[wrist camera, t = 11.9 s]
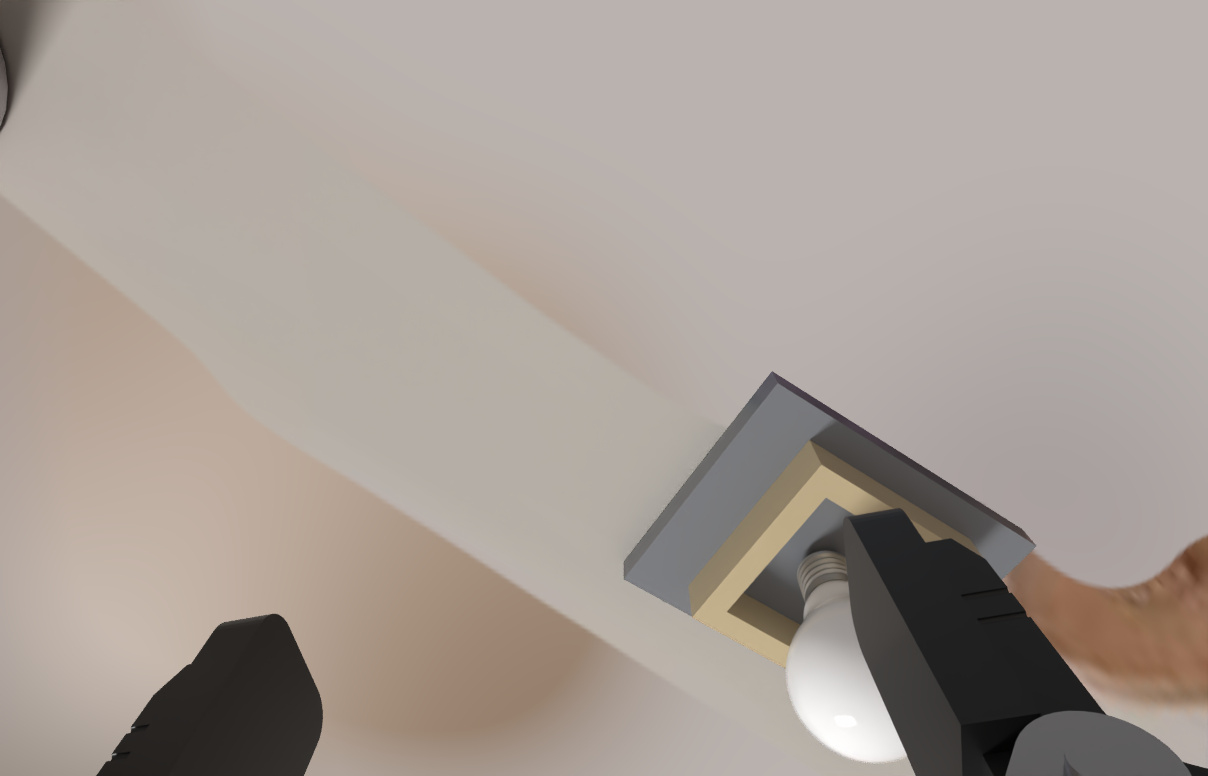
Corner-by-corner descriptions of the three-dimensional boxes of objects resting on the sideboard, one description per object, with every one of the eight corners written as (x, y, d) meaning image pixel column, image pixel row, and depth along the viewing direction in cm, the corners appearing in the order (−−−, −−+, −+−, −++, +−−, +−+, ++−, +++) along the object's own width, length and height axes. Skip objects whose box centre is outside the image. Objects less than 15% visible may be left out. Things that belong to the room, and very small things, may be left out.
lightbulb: (854, 628, 40) (930, 815, 30) (739, 599, 40) (778, 779, 30) (905, 529, 38) (1006, 696, 28) (783, 497, 38) (842, 656, 27)
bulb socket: (623, 561, 41) (623, 610, 37) (771, 371, 37) (787, 404, 33) (859, 691, 44) (880, 748, 40) (1022, 529, 40) (1062, 576, 36)
